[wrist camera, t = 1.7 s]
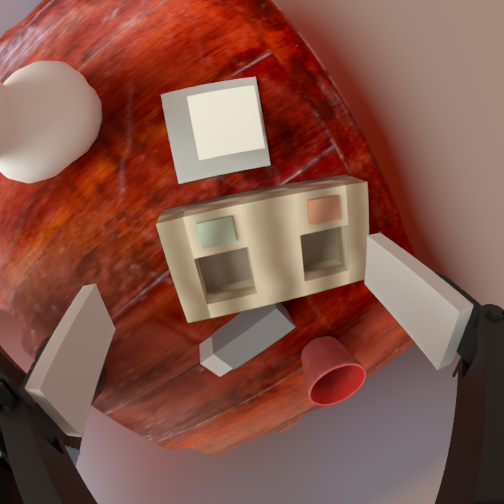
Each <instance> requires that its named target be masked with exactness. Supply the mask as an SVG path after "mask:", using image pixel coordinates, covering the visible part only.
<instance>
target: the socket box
mask: <svg viewBox="0 0 504 504" xmlns="http://www.w3.org/2000/svg"><path fill="white" fill-rule="evenodd" d="M156 226H157V229H158V233H159V236H160V240H161V243H162V246H163V250H164V253H165V256H166V260H167V263H168V266H169V269H170V272H171V275H172V278H173V281H174V284H175V287H176V290H177V293H178V296H179V299H180V302H181V305H182V308H183V311H184V313H185V316H186V319H187V322H188V323H190V322H195V321H200V320H204V319H209V318H214V317H219V316H223V315H228V314H232V313H237V312H241V311H245V310H250V309H254V308H258V307H262V306H266V305H270V304H275V303H279V302H283V301H286V300H290V299H294V298H298V297H302V296H306V295H310V294H313V293H317V292H321V291H324V290H328V289H332V288H335V287H339V286H342V285H346V284H349V283H353V282H356V281H359V280H363V279H365V270H366V252H367V235H369V207H368V184H367V182H366V181H363V180H360V179H358V178H355V177H352V176H349V175H340V176H333V177H326V178H320V179H314V180H307V181H301V182H296V183H290V184H284V185H279V186H273V187H268V188H262V189H257V190H252V191H247V192H242V193H237V194H232V195H228V196H223V197H218V198H214V199H209V200H205V201H200V202H196V203H191V204H187V205H183V206H179V207H175V208H170V209H166V210H163V211H162V213H161V215H160V217H159V219H158V221H157V223H156Z"/></svg>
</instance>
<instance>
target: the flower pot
mask: <svg viewBox="0 0 504 504" xmlns="http://www.w3.org/2000/svg"><path fill="white" fill-rule="evenodd" d="M301 360H302V366H303V371H304V377H305V382H306V388H307V393H308V396H309V399H310V400H311V402H313V403H314V404H317V405H331V404H335V403H338V402H340V401H343V400H344V399H346V398H348V397H350V396H351V395H352V394H354V393H355V392H356V391H357V390H358V389H359V388H360V387H361V385H362V384H363V382H364V380H365V377H366V370H365V368H364V367H363V366H362V364H361V363H360V362H359V361H358V360H357V359H356V358H355V357H354V356H353V355H352V354H351V353H350V352H349V351H348V350H347V349H346V348H345V347H344V346H343V345H342V344H341V343H340V342H339V341H338V340H337V339H335V338H334V337H331V336H323V337H318V338H316V339H314V340H312V341H310V342H309V343H308V344H307V345H306V346H305V347H304V349H303V351H302V354H301Z"/></svg>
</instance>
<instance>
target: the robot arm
mask: <svg viewBox="0 0 504 504" xmlns="http://www.w3.org/2000/svg"><path fill="white" fill-rule="evenodd" d="M364 284H365V285H366V286H367V287H368V289H369V290H370V291H371V292H372V293H373V294H374V295H375V296H376V297H377V299H378V300H379V301H380V302H381V303H382V304H383V305H384V307H385V308H386V309H387V310H388V311H389V312H390V313H391V315H392V316H393V317H394V318H395V319H396V320H397V322H398V323H399V324H400V325H401V326H402V327H403V329H404V330H405V331H406V332H407V333H408V334H409V336H410V337H411V338H412V339H413V340H414V342H415V343H416V344H417V345H418V346H419V348H420V349H421V350H422V351H423V353H424V354H425V355H426V356H427V357H428V359H429V360H430V361H431V362H432V364H433V365H434V366H435V368H436V369H437V370H439V369H441V368H443V367H445V366H447V365H449V364H451V363H452V361H453V359H454V356H455V354H456V352H458V354H459V355H460V356H461V358H460V360H459V362H458V364H457V367H456V369H455V371H454V373H453V377H455V375H456V373H457V372H458V385H457V397H456V407H455V415H454V416H455V417H454V423H453V430H452V436H451V441H450V447H449V452H448V457H447V461H446V466H445V470H444V474H443V478H442V482H441V485H440V489H439V492H438V495H437V498H436V502H435V504H504V310H503V309H502V308H500V307H499V306H497V305H493V304H486V305H483V306H481V305H480V304H479V303H478V302H477V301H476V300H474V299H473V298H472V297H471V296H470V295H468V294H467V293H466V292H465V291H464V290H462V289H460V287H459V286H457V285H456V284H454V282H452V281H451V280H450V279H449V278H447V277H446V276H443V275H441V274H439V273H436V272H435V273H434V272H433V271H431V270H430V269H429V268H428V267H426V266H425V265H424V264H422V263H421V262H420V261H418V260H417V259H416V258H414V257H413V256H412V255H410V254H409V253H408V252H406V251H405V250H404V249H402V248H401V247H399V246H398V245H397V244H395V243H394V242H392V241H391V240H390V239H388V238H387V237H385V236H384V235H382V234H381V233H377V234H372V235H367V252H366V270H365V283H364ZM115 330H116V329H115V327H114V325H113V322H112V320H111V318H110V316H109V314H108V311H107V309H106V307H105V305H104V302H103V300H102V298H101V295H100V293H99V290H98V288H97V286H96V284H91V285H85V286H83V287H82V288H81V290H80V291H79V293H78V294H77V296H76V297H75V299H74V300H73V302H72V304H71V305H70V307H69V308H68V310H67V311H66V313H65V315H64V316H63V318H62V320H61V321H60V323H59V325H58V326H57V328H56V330H55V331H54V333H53V335H52V336H51V337H50V338H47V339H45V340H43V341H42V343H41V344H40V346H39V348H38V349H37V351H36V355H35V360H34V361H35V362H33V364H32V366H31V369H30V370H29V371H28V373H27V374H26V373H25V372H24V371H23V370H22V369H21V368H20V367H19V366H18V365H17V364H16V363H15V361H14V360H13V359H12V358H11V357H10V356H9V355H8V354H7V353H6V352H5V350H4V349H3V348H2V347H1V346H0V453H1V456H0V504H97V502H96V501H95V499H94V498H93V496H92V494H91V493H90V491H89V490H88V488H87V486H86V485H85V483H84V481H83V480H82V478H81V476H80V474H79V473H78V471H77V469H76V467H75V466H76V463H77V459H78V456H79V454H80V446H81V441H82V437H83V433H84V429H85V425H86V421H87V418H88V414H89V410H90V407H91V405H92V404H93V402H94V401H95V400H96V398H97V397H98V396H99V395H100V394H101V392H102V390H103V388H104V384H105V380H106V374H105V370H104V368H103V364H104V361H105V358H106V355H107V352H108V349H109V346H110V344H111V341H112V338H113V335H114V332H115Z"/></svg>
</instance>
